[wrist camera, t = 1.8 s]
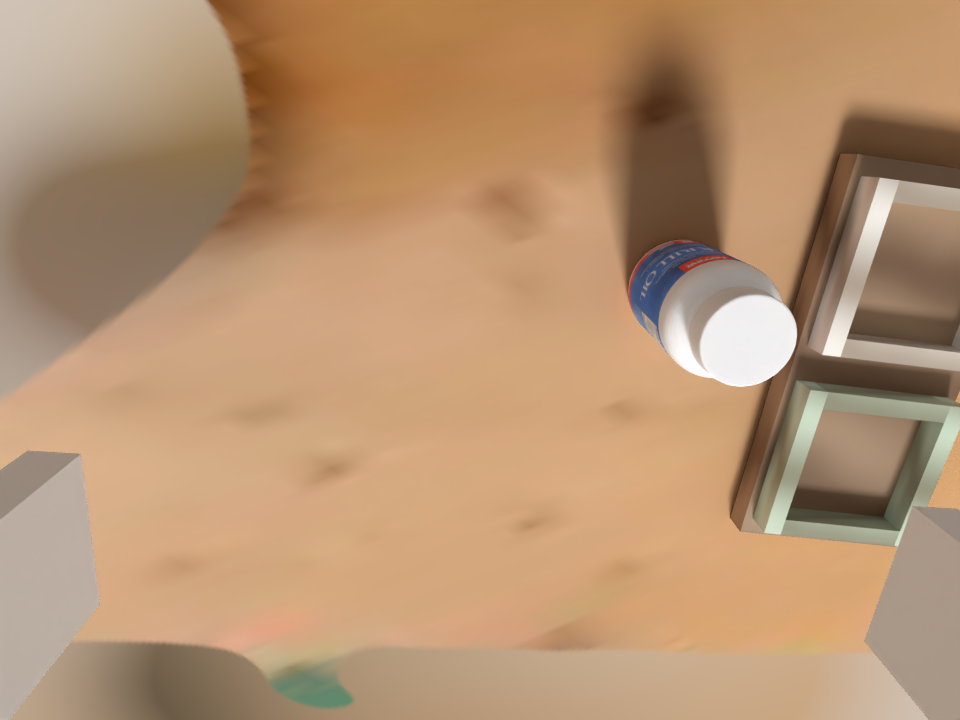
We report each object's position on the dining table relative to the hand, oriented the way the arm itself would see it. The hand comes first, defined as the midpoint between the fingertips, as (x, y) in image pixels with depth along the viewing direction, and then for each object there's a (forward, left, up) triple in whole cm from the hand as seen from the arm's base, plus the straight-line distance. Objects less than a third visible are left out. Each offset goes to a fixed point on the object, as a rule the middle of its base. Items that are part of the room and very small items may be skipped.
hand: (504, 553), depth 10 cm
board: (+3, +23, -25) cm, 34 cm away
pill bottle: (0, +11, -25) cm, 27 cm away
